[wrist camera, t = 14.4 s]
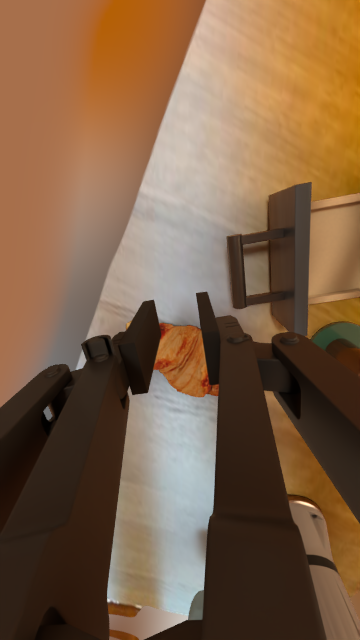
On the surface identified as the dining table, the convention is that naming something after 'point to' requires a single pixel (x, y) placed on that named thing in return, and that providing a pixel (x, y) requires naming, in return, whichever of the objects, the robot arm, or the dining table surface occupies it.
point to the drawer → (303, 255)
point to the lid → (341, 343)
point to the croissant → (183, 360)
